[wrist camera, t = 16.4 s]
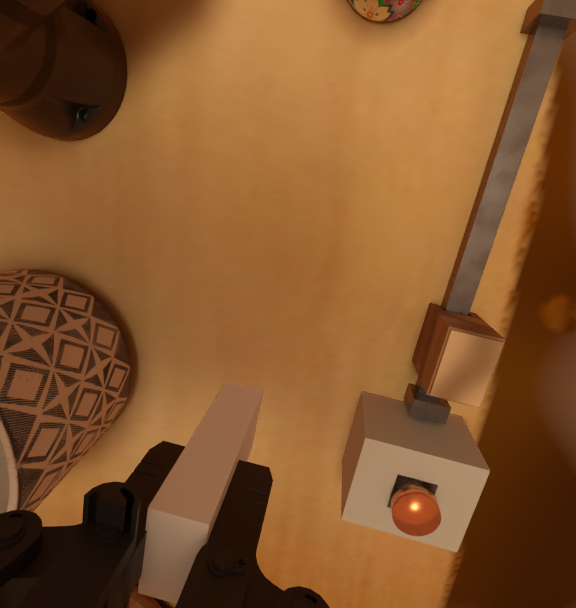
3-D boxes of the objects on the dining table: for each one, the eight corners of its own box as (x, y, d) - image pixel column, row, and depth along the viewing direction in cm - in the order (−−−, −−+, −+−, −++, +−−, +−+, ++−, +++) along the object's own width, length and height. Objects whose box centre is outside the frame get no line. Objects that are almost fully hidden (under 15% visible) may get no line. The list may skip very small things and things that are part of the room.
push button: (381, 483, 44) (386, 528, 38) (392, 449, 43) (399, 490, 37) (421, 494, 44) (433, 541, 38) (433, 460, 43) (447, 503, 36)
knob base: (342, 460, 51) (341, 519, 42) (362, 391, 49) (365, 437, 39) (436, 485, 50) (457, 552, 41) (461, 416, 48) (490, 470, 38)
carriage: (412, 360, 46) (427, 396, 38) (430, 303, 45) (450, 327, 36) (455, 370, 46) (480, 410, 37) (475, 313, 44) (507, 341, 35)
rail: (404, 398, 48) (409, 415, 44) (527, 8, 37) (548, -15, 33) (437, 406, 48) (445, 424, 44) (572, 15, 37) (598, -7, 33)
